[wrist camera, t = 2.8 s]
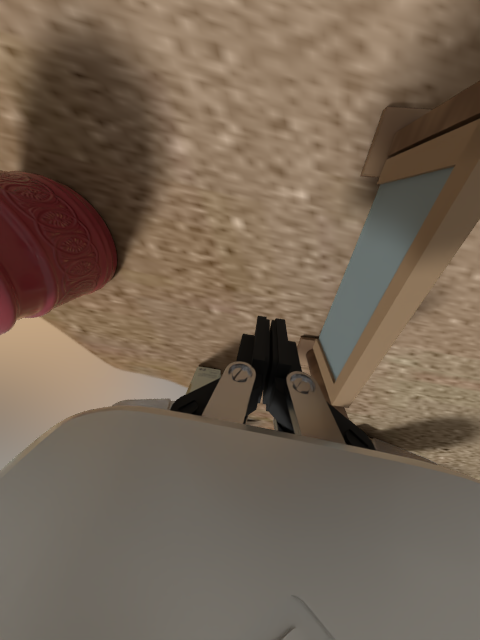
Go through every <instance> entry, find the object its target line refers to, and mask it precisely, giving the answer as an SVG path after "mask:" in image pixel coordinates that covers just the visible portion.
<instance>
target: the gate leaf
mask: <svg viewBox="0 0 480 640" xmlns="http://www.w3.org/2000/svg"><path fill="white" fill-rule="evenodd" d="M377 184H380V187H379V189H378V192H377V194H376V197H375V199H374V202H373V204H372V207H371V209H370V212H369V214H368V217H367V219H366V222H365V224H364V227H363V229H362V232H361V234H360V237H359V239H358V242H357V244H356V247H355V249H354V252H353V254H352V257H351V259H350V262H349V264H348V267H347V269H346V272H345V274H344V277H343V279H342V282H341V284H340V287H339V289H338V291H337V294H336V296H335V299H334V301H333V304H332V306H331V309H330V311H329V314H328V316H327V319H326V321H325V324H324V326H323V329H322V331H321V334H320V336H319V339H316V340H315V343H314V345H313V350H314V353H315V356H316V359H317V362H318V365H319V368H320V371H321V374H322V377H323V380H324V383H325V386H326V389H327V392H328V395H329V398H330V401H331V404H332V405H334V406H340V407H345V408H349V406H350V405H351V404H352V402H353V401H354V399H355V398H356V396H357V395H358V394H359V392H360V391H361V389H362V388H363V386H364V385H365V383H366V382H367V381H368V379H369V378H370V376H371V375H372V373H373V372H374V370H375V369H376V368H377V366H378V365H379V363H380V362H381V360H382V359H383V357H384V356H385V355H386V353H387V352H388V350H389V349H390V347H391V346H392V345H393V343H394V342H395V340H396V339H397V337H398V336H399V334H400V333H401V332H402V330H403V329H404V327H405V326H406V324H407V323H408V321H409V320H410V319H411V317H412V316H413V314H414V313H415V311H416V310H417V309H418V307H419V306H420V304H421V303H422V301H423V300H424V298H425V297H426V296H427V294H428V293H429V291H430V290H431V288H432V287H433V285H434V284H435V283H436V281H437V280H438V278H439V277H440V275H441V274H442V272H443V271H444V270H445V268H446V267H447V265H448V264H449V262H450V261H451V260H452V258H453V257H454V255H455V254H456V252H457V251H458V249H459V248H460V247H461V245H462V244H463V242H464V241H465V239H466V238H467V236H468V235H469V234H470V232H471V231H472V229H473V228H474V226H475V225H476V223H477V222H478V221H479V219H480V119H478V120H476V121H473V122H471V123H469V124H466V125H464V126H462V127H460V128H457V129H455V130H453V131H451V132H448V133H446V134H444V135H441V136H439V137H437V138H435V139H432V140H430V141H428V142H425V143H423V144H421V145H419V146H416V147H414V148H412V149H410V150H407V151H405V152H403V153H400V154H398V155H396V156H394V157H391V158H389V159H387V160H386V162H385V165H384V167H383V170H382V172H381V175H380V177H379V180H378V182H377Z"/></svg>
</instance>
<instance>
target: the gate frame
mask: <svg viewBox="0 0 480 640" xmlns="http://www.w3.org/2000/svg"><path fill="white" fill-rule="evenodd" d="M478 119H480V81H478V82H477V83H475V84H473V85H472V86H470V87H469V88H467V89H465V90H464V91H462V92H460V93H459V94H457V95H456V96H454V97H452V98H451V99H449V100H448V101H446V102H444V103H443V104H441V105H439V106H438V107H436V108H435V109H419V108H401V107H387V108H385V109H384V110H383V112H382V115H381V118H380V121H379V124H378V127H377V130H376V132H375V135H374V138H373V141H372V144H371V147H370V150H369V153H368V156H367V158H366V161H365V164H364V167H363V170H362V173H361V176H365V177H377V178H379V177H380V175H381V172H382V170H383V167H384V165H385V162H386V160H387V159H389V158H391V157H394V156H396V155H398V154H400V153H403V152H405V151H407V150H410V149H412V148H414V147H416V146H419V145H421V144H423V143H425V142H428V141H430V140H432V139H435V138H437V137H439V136H441V135H444V134H446V133H448V132H451V131H453V130H455V129H457V128H460V127H462V126H464V125H466V124H469V123H471V122H473V121H476V120H478ZM315 340H316V339H315V338H308V337H301V338H300V341H299V344H298V347H297V351H298V355H299V360H300V365H301V366H306V367H309V370H310V374H311V376H312V377H313V378H314V379H315V380H316V382H317V383H318V385H319V387H320V389H321V391H322V393H323V396H324V398H325V400H326V401H327V402H328V403H329V404H330V405H332V404H331V401H330V398H329V395H328V392H327V389H326V386H325V383H324V380H323V377H322V374H321V371H320V368H319V365H318V362H317V359H316V356H315V353H314V350H313V345H314V343H315ZM332 406H333V407H334V408H335V409H336V410H338V411H339V412H340V413H341V414H342V415H344V416H345V417H346V418H347V419H349V418H348V416H347V413H346V411H345V408H344V407H340V406H334V405H332Z"/></svg>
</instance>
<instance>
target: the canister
mask: <svg viewBox="0 0 480 640" xmlns="http://www.w3.org/2000/svg"><path fill="white" fill-rule="evenodd" d="M116 267H117V253H116V248H115V244H114V241H113V238H112V236H111V234H110V231H109V230H108V228H107V226H106V224H105V222H104V221H103V219H102V218H101V217H100V215H99V214H98V213H97V211H96V210H95V209H94V208H93V207H92V205H91V204H90V203H89V202H88V201H87V200H85V199H84V198H83V197H82V196H81V195H80V194H78V193H77V192H76V191H74V190H73V189H71V188H70V187H68V186H66V185H64V184H62V183H60V182H57V181H55V180H51V179H49V178H47V177H44V176H41V175H38V174H34V173H27V172H22V171H10V172H7V171H1V170H0V335H1V334H3V333H6V332H7V331H9V330H10V329H11V328H12V327H13V325H14V324H15V322H16V320H19V319H22V318H34V317H40V316H43V315H45V314H47V313H48V312H50V311H51V310H52V309H53V308H56V307H58V306H60V305H62V304H64V303H67V302H69V301H71V300H73V299H76V298H78V297H80V296H82V295H86V294H90V293H93V292H95V291H97V290H99V289H101V288H102V287H103V286H104V285H105V284H107V283H108V282H109V281H110V280H111V279H112V278H113V276H114V274H115V271H116Z"/></svg>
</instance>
